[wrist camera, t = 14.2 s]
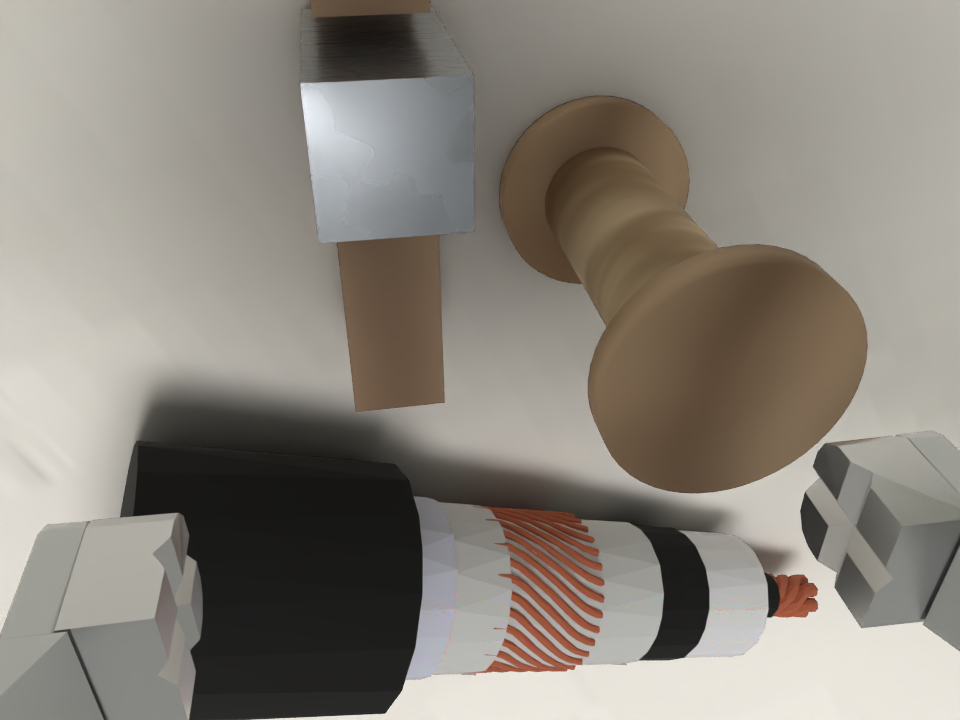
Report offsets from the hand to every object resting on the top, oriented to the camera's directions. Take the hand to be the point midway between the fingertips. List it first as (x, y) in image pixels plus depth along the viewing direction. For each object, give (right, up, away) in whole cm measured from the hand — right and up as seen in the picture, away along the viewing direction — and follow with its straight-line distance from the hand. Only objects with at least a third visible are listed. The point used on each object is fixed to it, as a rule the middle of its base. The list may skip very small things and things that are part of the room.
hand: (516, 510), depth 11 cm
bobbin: (+4, +8, +21) cm, 23 cm away
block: (-4, +11, +16) cm, 20 cm away
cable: (+1, -6, +30) cm, 31 cm away
